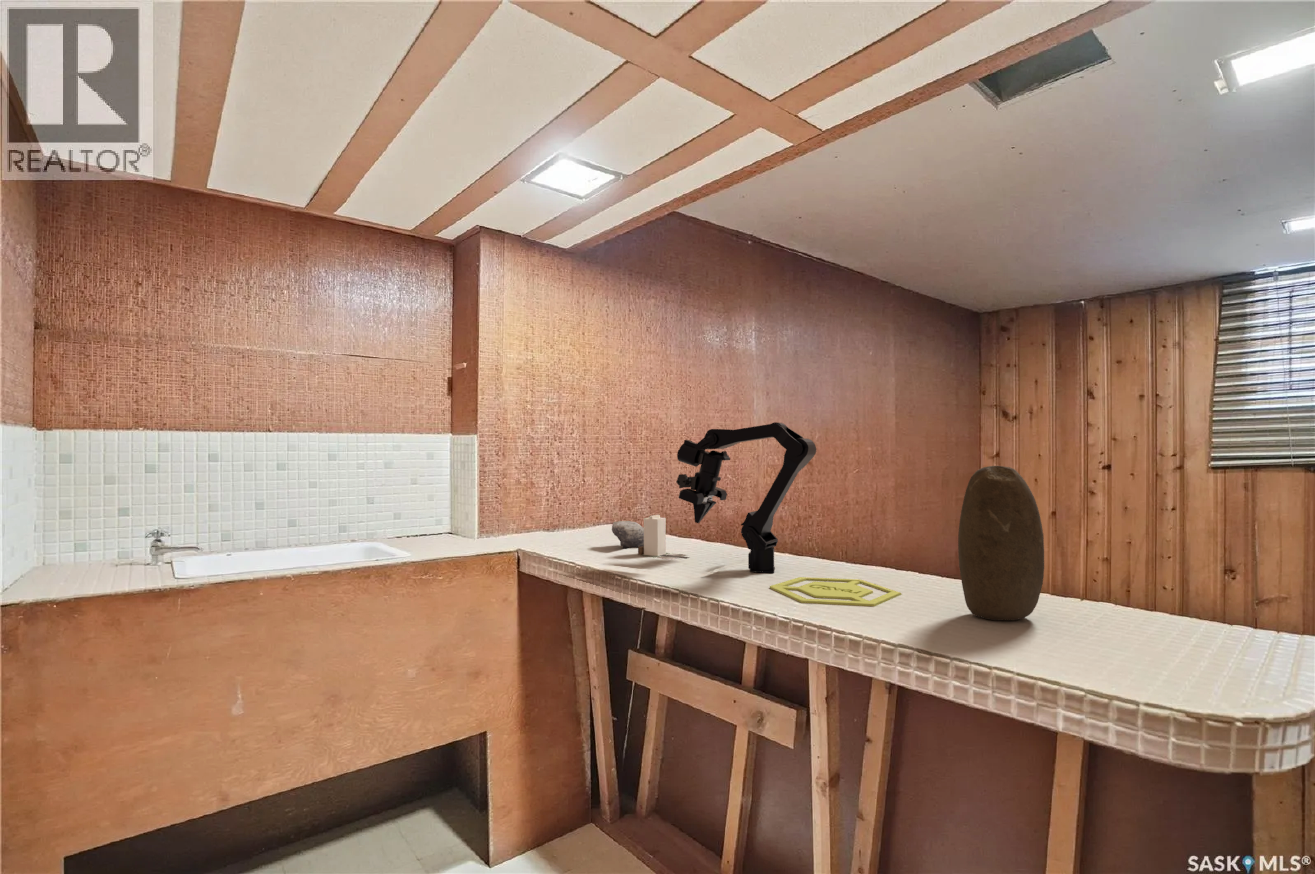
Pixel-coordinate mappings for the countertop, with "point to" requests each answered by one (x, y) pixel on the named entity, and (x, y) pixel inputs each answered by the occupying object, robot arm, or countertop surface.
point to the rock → (629, 534)
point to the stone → (1000, 545)
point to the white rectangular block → (654, 535)
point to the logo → (834, 591)
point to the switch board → (670, 556)
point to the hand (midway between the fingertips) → (696, 522)
